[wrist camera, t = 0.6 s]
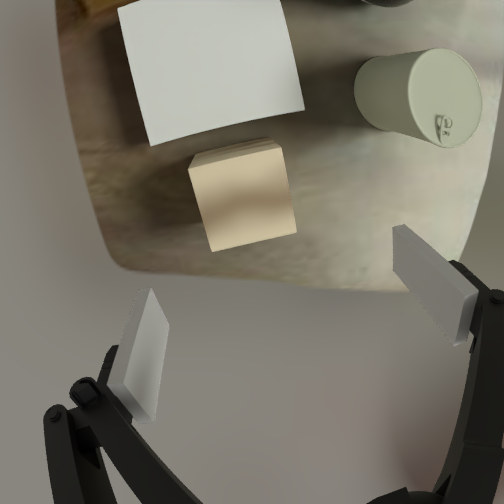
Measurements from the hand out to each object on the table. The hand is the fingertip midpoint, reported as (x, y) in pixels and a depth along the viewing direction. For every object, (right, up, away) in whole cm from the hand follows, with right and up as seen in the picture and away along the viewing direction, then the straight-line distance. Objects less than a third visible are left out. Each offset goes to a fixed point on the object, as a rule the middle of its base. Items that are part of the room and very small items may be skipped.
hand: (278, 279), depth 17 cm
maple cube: (-3, +9, +18) cm, 21 cm away
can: (+14, +20, +15) cm, 29 cm away
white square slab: (-6, +21, +12) cm, 25 cm away
